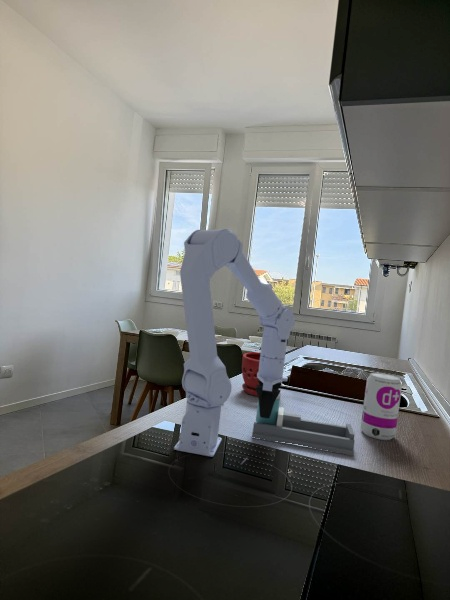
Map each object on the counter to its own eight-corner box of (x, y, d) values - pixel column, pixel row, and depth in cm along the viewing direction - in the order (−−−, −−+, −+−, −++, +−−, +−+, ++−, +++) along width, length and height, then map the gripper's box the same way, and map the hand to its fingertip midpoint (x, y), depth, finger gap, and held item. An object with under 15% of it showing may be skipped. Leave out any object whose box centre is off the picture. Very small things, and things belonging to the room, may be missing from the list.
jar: (274, 427, 96) (278, 397, 95) (253, 422, 97) (256, 392, 97) (279, 421, 100) (282, 392, 100) (258, 416, 102) (261, 388, 102)
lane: (353, 456, 90) (355, 437, 90) (251, 438, 94) (253, 420, 94) (347, 438, 101) (349, 421, 101) (256, 422, 105) (258, 406, 104)
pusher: (298, 436, 94) (301, 418, 94) (275, 432, 95) (277, 414, 95) (298, 427, 101) (301, 410, 100) (277, 423, 101) (279, 406, 101)
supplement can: (399, 442, 102) (408, 381, 101) (365, 438, 102) (373, 377, 101) (387, 430, 110) (395, 374, 109) (356, 427, 110) (363, 370, 109)
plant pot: (236, 386, 139) (241, 350, 139) (276, 389, 140) (280, 354, 139) (240, 397, 126) (245, 357, 126) (283, 401, 127) (288, 362, 126)
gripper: (289, 364, 90) (281, 426, 91) (290, 354, 105) (283, 407, 105) (256, 360, 91) (249, 421, 92) (262, 350, 106) (255, 403, 106)
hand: (265, 413), depth 99 cm, fingers closed on jar, 5 cm apart
